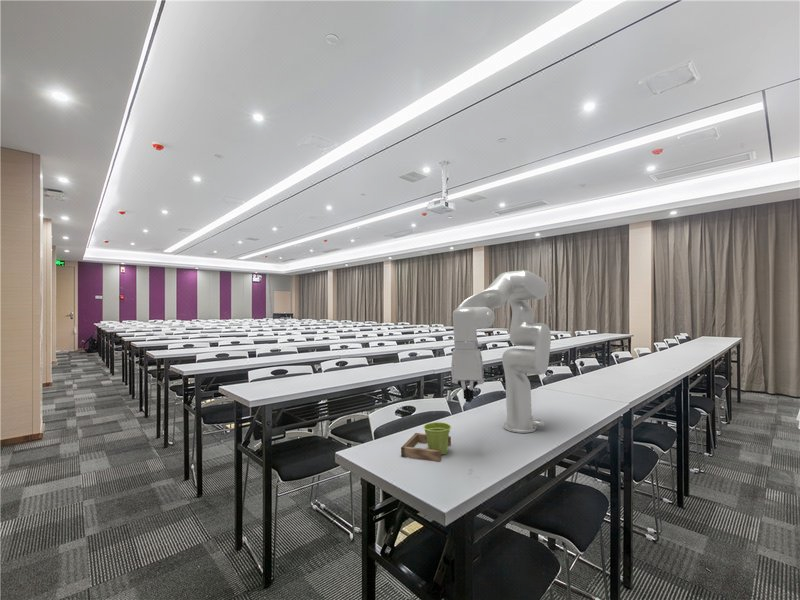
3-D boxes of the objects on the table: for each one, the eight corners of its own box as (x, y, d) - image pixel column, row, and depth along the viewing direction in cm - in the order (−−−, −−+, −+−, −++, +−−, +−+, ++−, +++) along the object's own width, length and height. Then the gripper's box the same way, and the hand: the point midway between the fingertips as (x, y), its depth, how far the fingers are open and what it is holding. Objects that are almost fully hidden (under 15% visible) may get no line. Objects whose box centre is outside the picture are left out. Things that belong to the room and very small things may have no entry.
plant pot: (419, 455, 120) (419, 429, 120) (429, 445, 128) (428, 420, 129) (447, 459, 116) (446, 432, 116) (455, 449, 125) (454, 423, 125)
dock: (451, 444, 129) (450, 436, 129) (440, 461, 115) (439, 452, 115) (415, 441, 133) (415, 432, 133) (401, 456, 119) (401, 447, 119)
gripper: (490, 344, 121) (493, 399, 121) (446, 344, 126) (449, 397, 126) (487, 347, 114) (490, 405, 114) (441, 347, 119) (444, 403, 119)
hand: (468, 401), depth 120 cm, fingers closed
